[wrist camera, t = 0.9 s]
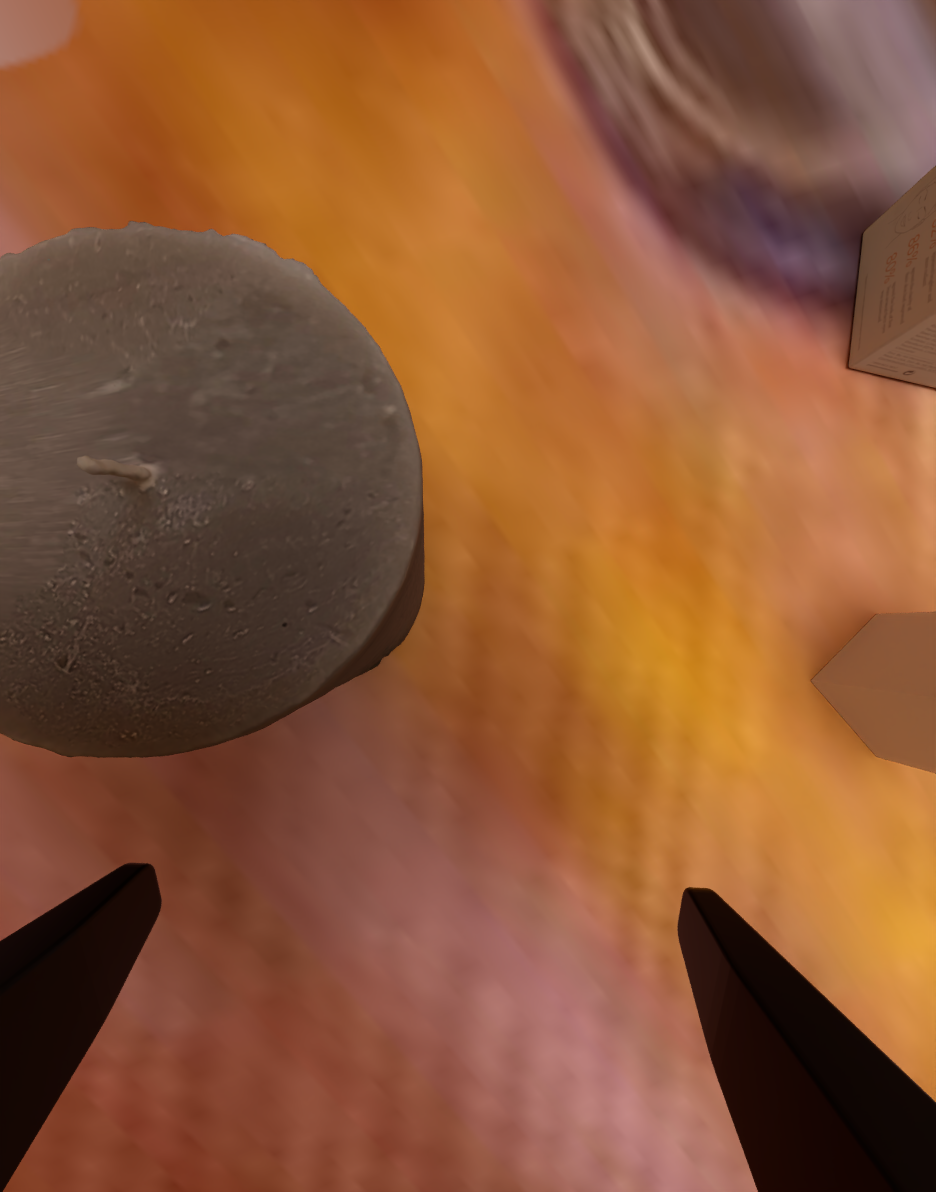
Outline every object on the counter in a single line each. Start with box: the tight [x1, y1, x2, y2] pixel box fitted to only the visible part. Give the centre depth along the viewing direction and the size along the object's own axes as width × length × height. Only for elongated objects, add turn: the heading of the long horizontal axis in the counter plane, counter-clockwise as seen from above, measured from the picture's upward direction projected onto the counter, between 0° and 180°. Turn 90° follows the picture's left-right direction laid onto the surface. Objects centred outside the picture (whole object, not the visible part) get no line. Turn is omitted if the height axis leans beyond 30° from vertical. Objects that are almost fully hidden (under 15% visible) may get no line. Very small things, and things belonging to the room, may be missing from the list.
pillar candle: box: [0, 221, 424, 758], centre depth 14 cm, size 10×10×15 cm
